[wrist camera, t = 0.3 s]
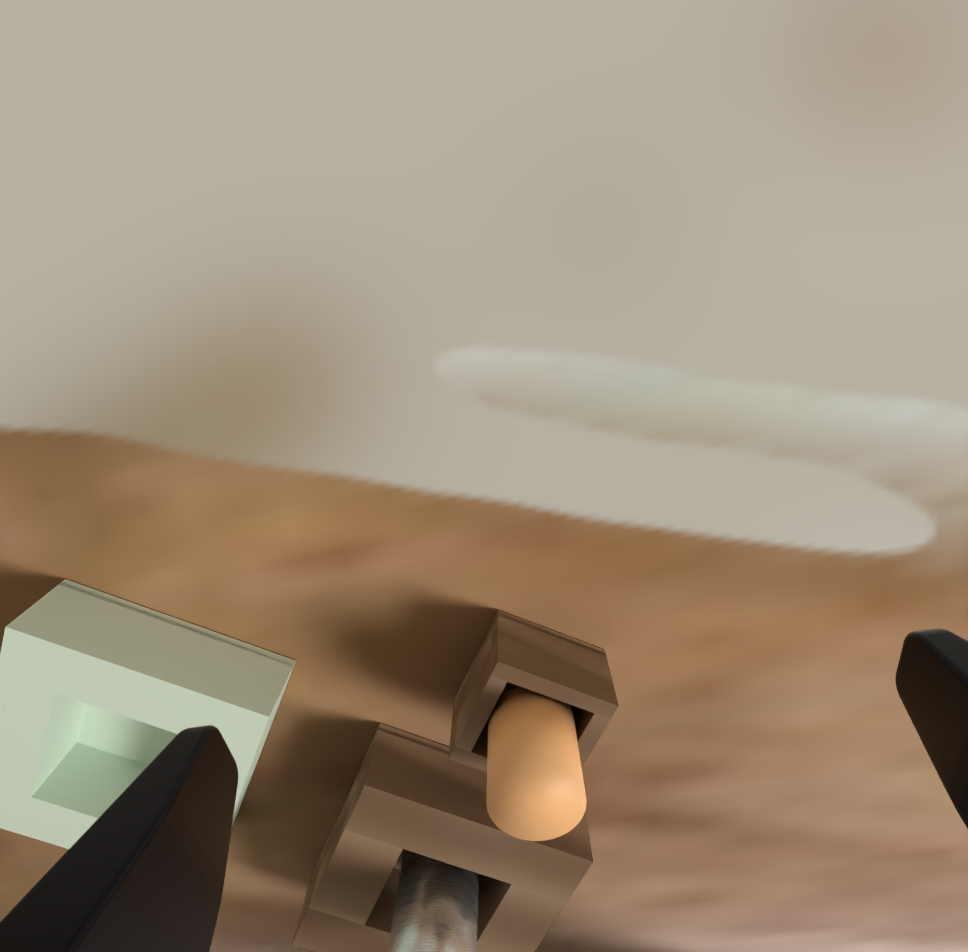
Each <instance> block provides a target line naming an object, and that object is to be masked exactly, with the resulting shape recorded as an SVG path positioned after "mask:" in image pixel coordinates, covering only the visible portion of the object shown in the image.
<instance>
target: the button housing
mask: <svg viewBox="0 0 968 952" xmlns="http://www.w3.org/2000/svg"><path fill="white" fill-rule="evenodd" d="M517 687H523V688H526V689H529V690H531V691H534V692H537V693H540V694H542V695H545V696H548V697H551V698H553V699H556V700H559V701H562V702H564V703H567V704H569V705H570V707H571V709H572V711H573V716H574V722H575V728H576V735H577V742H578V748H579V755H580V761H581V768H582V766H583V764H584V763H585V761H586V759H587V758H588V756H589V754H590V753H591V751H592V749H593V748H594V746H595V744H596V743H597V741H598V739H599V738H600V736H601V734H602V733H603V731H604V729H605V728H606V726H607V724H608V723H609V721H610V719H611V718H612V716H613V714H614V713H615V711H616V709H617V708H618V702H617V698H616V694H615V690H614V686H613V682H612V678H611V674H610V670H609V666H608V662H607V658H606V654H605V650H604V649H601V648H598V647H596V646H593V645H590V644H588V643H585V642H582V641H580V640H577V639H574V638H572V637H569V636H566V635H564V634H561V633H558V632H556V631H553V630H551V629H548V628H545V627H543V626H540V625H537V624H535V623H532V622H529V621H527V620H524V619H521V618H519V617H516V616H513V615H511V614H508V613H505V612H503V611H500V610H498V611H497V613H496V615H495V617H494V619H493V621H492V623H491V625H490V627H489V629H488V631H487V633H486V635H485V637H484V639H483V642H482V644H481V646H480V648H479V650H478V652H477V654H476V656H475V658H474V660H473V662H472V664H471V666H470V668H469V670H468V672H467V674H466V676H465V678H464V680H463V682H462V684H461V686H460V688H459V690H458V692H457V694H456V696H455V699H454V707H453V718H452V728H451V738H450V749H449V759H450V760H453V761H456V762H458V763H461V764H464V765H467V766H470V767H473V768H476V769H479V770H482V771H485V772H487V752H488V718H489V716H490V714H491V712H492V710H493V708H494V707H495V705H496V703H497V701H498V699H499V697H500V696H501V695H503V694H504V693H505V692H507V691H509V690H511V689H514V688H517Z"/></svg>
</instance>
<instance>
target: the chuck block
mask: <svg viewBox="0 0 968 952" xmlns="http://www.w3.org/2000/svg"><path fill="white" fill-rule="evenodd" d="M449 749H450V747H447V746H444V745H442V744H439V743H436V742H433V741H430V740H427V739H424V738H421V737H419V736H416V735H413V734H410V733H407V732H404V731H401V730H398V729H396V728H393V727H390V726H387V725H384V724H381V723H380V724H379V726H378V729H377V731H376V733H375V735H374V738H373V740H372V742H371V744H370V746H369V749H368V751H367V753H366V755H365V758H364V760H363V762H362V764H361V766H360V769H359V771H358V773H357V775H356V778H355V780H354V782H353V784H352V786H351V789H350V791H349V793H348V795H347V798H346V800H345V802H344V804H343V806H342V809H341V811H340V813H339V815H338V818H337V820H336V822H335V824H334V826H333V829H332V831H331V833H330V835H329V838H328V840H327V842H326V844H325V846H324V849H323V851H322V853H321V855H320V858H319V860H318V862H317V864H316V866H315V869H314V871H313V873H312V876H311V880H310V883H309V887H308V890H307V894H306V897H305V900H304V904H303V907H302V911H301V914H300V917H299V921H298V924H297V928H296V931H295V935H294V938H293V941H292V946H295V947H299V948H302V949H305V950H308V951H312V952H387V951H388V945H389V938H390V932H391V925H392V919H393V913H394V906H395V900H396V893H397V887H398V881H399V874H400V868H401V861H402V855H403V849H405V850H408V851H411V852H414V853H417V854H420V855H423V856H426V857H430V858H433V859H436V860H439V861H442V862H445V863H448V864H451V865H454V866H457V867H460V868H463V869H466V870H469V871H472V872H475V873H479V891H478V922H477V952H535V950H536V949H537V947H538V946H539V944H540V943H541V941H542V940H543V938H544V936H545V935H546V933H547V932H548V930H549V929H550V927H551V926H552V924H553V923H554V921H555V920H556V918H557V916H558V915H559V913H560V912H561V910H562V909H563V907H564V906H565V904H566V903H567V901H568V899H569V898H570V896H571V895H572V893H573V892H574V890H575V889H576V887H577V886H578V884H579V883H580V881H581V879H582V878H583V876H584V875H585V873H586V872H587V870H588V869H589V867H590V866H591V864H592V863H593V858H592V852H591V845H590V838H589V831H588V825H587V818H586V811H585V813H584V815H583V817H582V819H581V821H580V822H579V823H578V824H577V825H576V826H575V827H574V828H573V829H572V830H571V831H569V832H568V833H566V834H564V835H562V836H560V837H557V838H554V839H550V840H544V841H528V840H522V839H518V838H515V837H513V836H510V835H508V834H507V833H505V832H503V831H502V830H500V829H499V828H498V827H497V826H496V825H495V824H494V822H493V821H492V820H491V818H490V816H489V814H488V811H487V805H486V795H487V772H485V771H482V770H479V769H476V768H473V767H470V766H467V765H464V764H461V763H458V762H456V761H453V760H450V759H449Z"/></svg>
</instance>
